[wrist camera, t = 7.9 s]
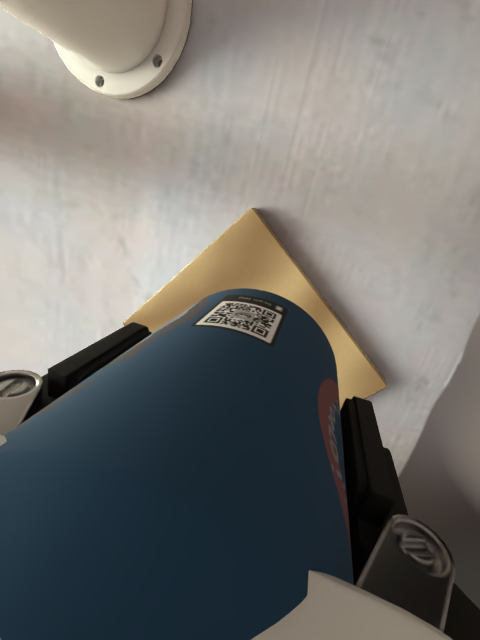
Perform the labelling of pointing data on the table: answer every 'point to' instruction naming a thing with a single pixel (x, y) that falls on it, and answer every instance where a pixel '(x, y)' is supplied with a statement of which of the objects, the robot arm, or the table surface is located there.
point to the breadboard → (268, 275)
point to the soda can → (180, 484)
